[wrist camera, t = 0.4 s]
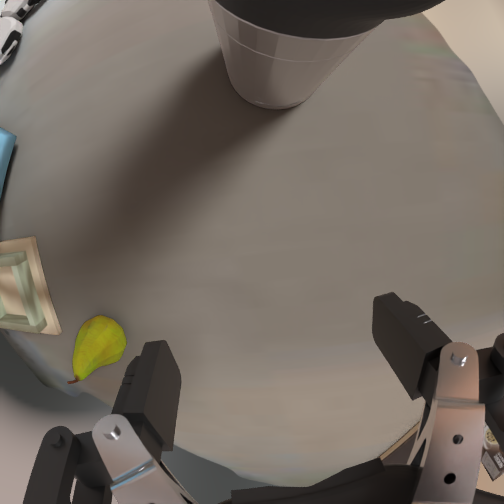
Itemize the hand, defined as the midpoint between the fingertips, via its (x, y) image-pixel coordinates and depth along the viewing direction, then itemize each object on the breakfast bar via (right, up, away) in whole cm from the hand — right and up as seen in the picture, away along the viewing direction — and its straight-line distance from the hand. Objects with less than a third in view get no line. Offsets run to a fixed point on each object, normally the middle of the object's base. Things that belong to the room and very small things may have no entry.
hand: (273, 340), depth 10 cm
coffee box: (+62, -45, +35) cm, 84 cm away
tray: (-35, -2, +21) cm, 41 cm away
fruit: (-19, -6, +23) cm, 30 cm away
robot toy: (-36, +37, +10) cm, 52 cm away
